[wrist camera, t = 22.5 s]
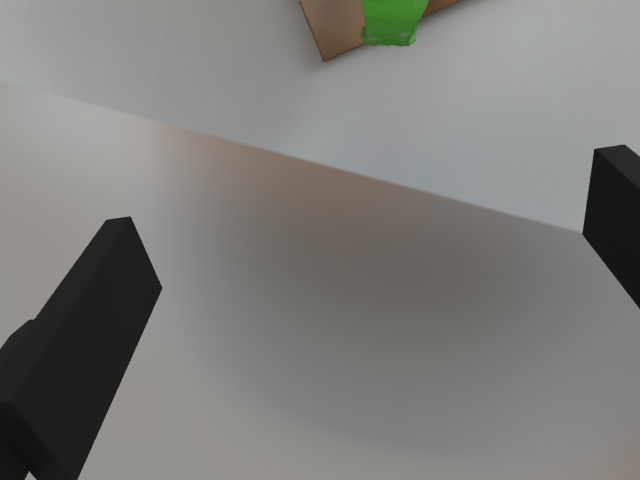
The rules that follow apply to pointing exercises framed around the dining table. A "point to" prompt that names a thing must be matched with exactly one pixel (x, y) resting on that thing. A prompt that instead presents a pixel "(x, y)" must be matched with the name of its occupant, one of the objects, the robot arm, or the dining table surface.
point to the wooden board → (344, 23)
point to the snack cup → (391, 21)
